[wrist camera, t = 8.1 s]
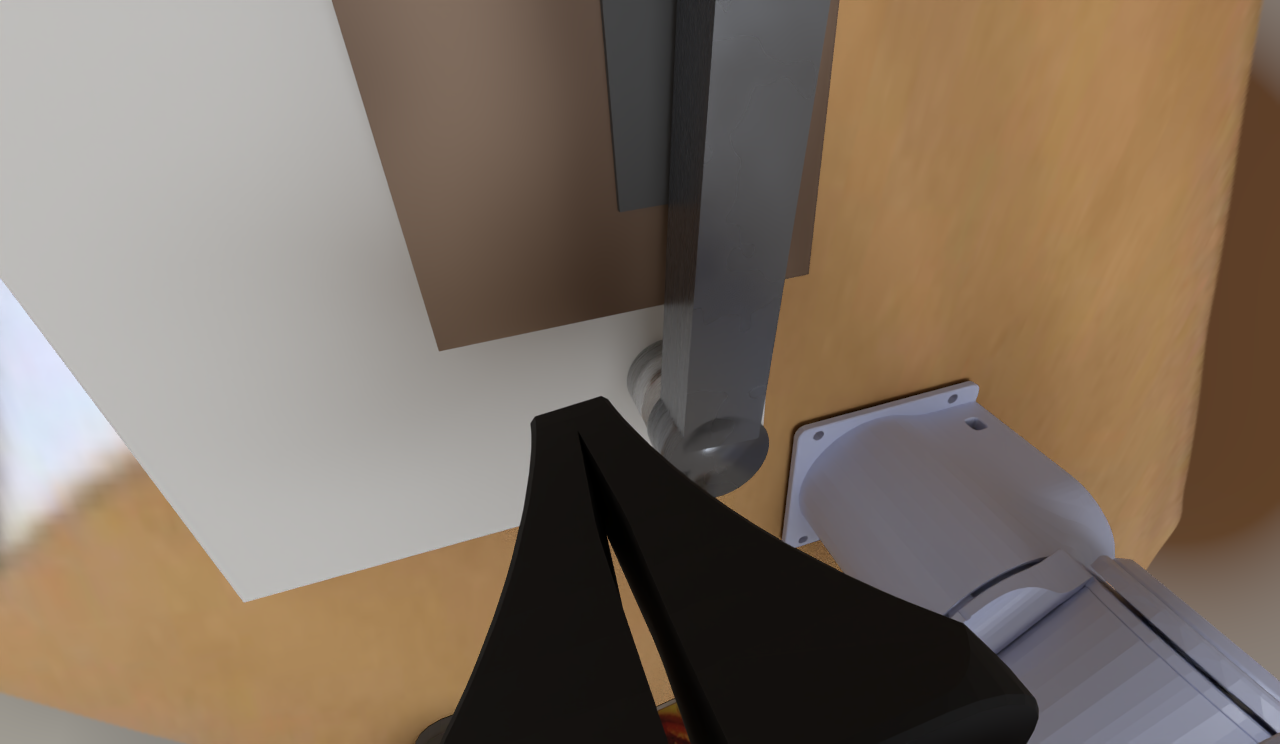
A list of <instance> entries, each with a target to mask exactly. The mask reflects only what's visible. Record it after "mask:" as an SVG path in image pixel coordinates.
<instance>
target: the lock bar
mask: <svg viewBox="0 0 1280 744" xmlns="http://www.w3.org/2000/svg"><path fill="white" fill-rule="evenodd" d="M830 1H831V0H677V15H676V39H675V62H674V86H673V109H672V133H671V156H670V180H669V203H668V227H667V250H666V274H665V297H664V321H663V344H662V368H661V391H660V399H659V400H658V401H657V403H656V404H655V405H654V407H653V409H652V411H651V413H650V415H649V418H648V423H647V433H648V437H649V440H650V442H651V444H652V446H653V448H654V449H655V450H657V451H658V452H659V453H660V454H661V455H662V456H663V457H665V458H666V459H667V460H668V461H669V462H670V463H671V464H672V465H674V466H675V467H676V468H677V469H678V470H680V471H681V472H682V473H683V474H685V475H686V476H687V477H688V478H690V479H691V480H692V481H693V482H695V483H696V484H697V485H699V486H700V487H701V488H702V489H704V490H705V491H706V492H708V493H709V494H710V495H712V496H713V497H718V496H722V495H724V494H727V493H729V492H731V491H733V490H735V489H737V488H739V487H740V486H742V485H743V484H744V483H746V482H747V481H748V480H749V479H750V478H751V477H752V476H753V475H754V474H755V473H756V472H757V471H758V470H759V468H760V467H761V465H762V464H763V462H764V460H765V458H766V455H767V452H768V448H769V438H768V434H767V431H766V429H765V428H764V426H763V425H762V424H761V420H762V414H763V408H764V402H765V396H766V390H767V384H768V378H769V372H770V366H771V360H772V353H773V347H774V341H775V335H776V329H777V323H778V317H779V311H780V305H781V299H782V293H783V287H784V281H785V275H786V268H787V262H788V256H789V250H790V244H791V238H792V232H793V226H794V220H795V214H796V208H797V202H798V196H799V190H800V183H801V177H802V171H803V165H804V159H805V153H806V147H807V141H808V135H809V129H810V123H811V117H812V111H813V105H814V98H815V92H816V86H817V80H818V74H819V68H820V62H821V56H822V50H823V44H824V38H825V32H826V26H827V19H828V13H829V7H830Z"/></svg>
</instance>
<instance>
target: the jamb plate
mask: <svg viewBox="0 0 1280 744" xmlns="http://www.w3.org/2000/svg"><path fill="white" fill-rule="evenodd" d="M0 278H1V279H2V281H3V282H4V283H5V285H6V286H7V287H8V289H9V290H10V291H11V293H12V294H13V295H14V297H15V298H16V299H17V301H18V302H19V303H20V305H21V306H22V307H23V309H24V310H25V311H26V313H27V314H28V315H29V317H30V318H31V319H32V321H33V322H34V323H35V325H36V326H37V327H38V329H39V330H40V331H41V333H42V334H43V335H44V337H45V338H46V339H47V341H48V342H49V343H50V345H51V346H52V347H53V349H54V350H55V351H56V353H57V354H58V355H59V357H60V358H61V359H62V361H63V362H64V363H65V365H66V366H67V367H68V369H69V370H70V371H71V373H72V374H73V375H74V377H75V378H76V379H77V381H78V382H79V383H80V385H81V386H82V387H83V389H84V390H85V391H86V393H87V394H88V395H89V397H90V398H91V399H92V401H93V402H94V403H95V405H96V406H97V407H98V409H99V410H100V411H101V413H102V414H103V415H104V417H105V418H106V419H107V421H108V422H109V423H110V425H111V426H112V427H113V429H114V430H115V431H116V433H117V434H118V435H119V437H120V438H121V439H122V441H123V442H124V443H125V445H126V446H127V447H128V449H129V450H130V451H131V453H132V454H133V455H134V457H135V458H136V459H137V461H138V462H139V463H140V465H141V466H142V467H143V469H144V470H145V471H146V473H147V474H148V475H149V477H150V478H151V479H152V481H153V482H154V483H155V485H156V486H157V487H158V489H159V490H160V491H161V493H162V494H163V495H164V497H165V498H166V499H167V501H168V502H169V503H170V505H171V506H172V507H173V509H174V510H175V511H176V513H177V514H178V515H179V517H180V518H181V519H182V521H183V522H184V523H185V525H186V526H187V527H188V529H189V530H190V531H191V533H192V534H193V535H194V537H195V538H196V539H197V541H198V542H199V543H200V545H201V546H202V547H203V549H204V550H205V551H206V553H207V554H208V555H209V557H210V558H211V559H212V561H213V562H214V563H215V565H216V566H217V567H218V569H219V570H220V571H221V573H222V574H223V575H224V577H225V578H226V579H227V581H228V582H229V583H230V585H231V586H232V587H233V589H234V590H235V591H236V593H237V594H238V595H239V597H240V598H241V599H242V601H243V602H247V601H251V600H255V599H258V598H262V597H265V596H269V595H273V594H276V593H280V592H283V591H287V590H291V589H294V588H298V587H301V586H305V585H309V584H312V583H316V582H319V581H323V580H327V579H330V578H334V577H337V576H341V575H345V574H348V573H352V572H355V571H359V570H363V569H366V568H370V567H373V566H377V565H381V564H384V563H388V562H391V561H395V560H399V559H402V558H406V557H409V556H413V555H417V554H420V553H424V552H428V551H431V550H435V549H438V548H442V547H446V546H449V545H453V544H456V543H460V542H464V541H467V540H471V539H474V538H478V537H482V536H485V535H489V534H492V533H496V532H500V531H503V530H507V529H510V528H514V527H518V526H520V522H521V518H522V513H523V508H524V501H525V495H526V489H527V483H528V476H529V467H530V457H531V426H530V423H531V421H532V420H533V418H534V417H535V416H538V415H541V414H544V413H547V412H551V411H554V410H557V409H560V408H564V407H567V406H570V405H573V404H577V403H580V402H583V401H586V400H590V399H593V398H596V397H599V396H603V397H605V398H607V399H609V401H610V402H611V404H612V405H613V406H614V407H615V409H616V410H617V411H618V412H619V413H620V414H621V416H622V417H623V418H624V419H625V420H626V421H627V422H628V423H629V424H630V425H631V426H632V427H633V428H634V429H635V430H636V431H637V432H638V433H639V434H640V435H641V436H642V437H643V438H644V439H645V440H646V441H647V442H648V443H649V444H650V445H651V446H652V444H651V442H650V440H649V437H648V433H647V427H646V425H645V423H644V421H643V419H642V417H641V415H640V413H639V411H638V409H637V407H636V405H635V403H634V401H633V399H632V397H631V396H630V394H629V391H628V388H627V374H628V371H629V368H630V366H631V364H632V362H633V360H634V359H635V358H636V357H637V355H638V354H639V353H640V352H641V351H643V350H644V349H645V348H646V347H648V346H649V345H651V344H653V343H655V342H657V341H660V340H663V321H664V305H659V306H654V307H649V308H644V309H640V310H635V311H630V312H625V313H621V314H616V315H611V316H606V317H601V318H597V319H592V320H587V321H582V322H578V323H573V324H568V325H563V326H558V327H554V328H549V329H544V330H539V331H535V332H530V333H525V334H520V335H515V336H511V337H506V338H501V339H496V340H492V341H487V342H482V343H477V344H472V345H468V346H463V347H458V348H453V349H449V350H444V351H439V350H438V347H437V344H436V340H435V337H434V334H433V330H432V327H431V324H430V321H429V317H428V314H427V311H426V308H425V304H424V301H423V298H422V294H421V291H420V288H419V285H418V281H417V278H416V275H415V272H414V268H413V265H412V262H411V258H410V255H409V252H408V249H407V245H406V242H405V239H404V236H403V232H402V229H401V226H400V222H399V219H398V216H397V213H396V209H395V206H394V203H393V200H392V196H391V193H390V190H389V187H388V183H387V180H386V177H385V173H384V170H383V167H382V164H381V160H380V157H379V154H378V151H377V147H376V144H375V141H374V137H373V134H372V131H371V128H370V124H369V121H368V118H367V115H366V111H365V108H364V105H363V101H362V98H361V95H360V92H359V88H358V85H357V82H356V79H355V75H354V72H353V69H352V65H351V62H350V59H349V56H348V52H347V49H346V46H345V43H344V39H343V36H342V33H341V29H340V26H339V23H338V20H337V16H336V13H335V10H334V7H333V3H332V0H0ZM765 397H766V396H765ZM764 410H765V402H764V408H763V414H762V420H761V424H762V425H763V423H764ZM652 447H653V446H652Z"/></svg>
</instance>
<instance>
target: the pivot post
mask: <svg viewBox="0 0 1280 744" xmlns="http://www.w3.org/2000/svg"><path fill="white" fill-rule="evenodd" d="M662 344H663V340H660V341H657V342H655V343H653V344H651V345H649V346H648V347H646V348H645V349H644V350H643V351H641V352H640V353H639V354H638V355H637V357H636V358H635V359H634V360H633V362H632V364H631V366H630V368H629V371H628V374H627V388H628V391H629V394H630V396H631V397H632V399H633V401H634V403H635V405H636V407H637V409H638V411H639V413H640V415H641V417H642V419H643V421H644V423H645V425H646V427H647V423H648V418H649V415H650V413H651V411H652V409H653V407H654V405H655V404H656V403H657V401H658V400H659V399H660V391H661V368H662Z"/></svg>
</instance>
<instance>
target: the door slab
mask: <svg viewBox="0 0 1280 744" xmlns="http://www.w3.org/2000/svg"><path fill="white" fill-rule="evenodd" d="M332 3H333V7H334V10H335V13H336V16H337V20H338V23H339V26H340V29H341V33H342V36H343V39H344V43H345V46H346V49H347V52H348V56H349V59H350V62H351V65H352V69H353V72H354V75H355V79H356V82H357V85H358V88H359V92H360V95H361V98H362V101H363V105H364V108H365V111H366V115H367V118H368V121H369V124H370V128H371V131H372V134H373V137H374V141H375V144H376V147H377V151H378V154H379V157H380V160H381V164H382V167H383V170H384V173H385V177H386V180H387V183H388V187H389V190H390V193H391V196H392V200H393V203H394V206H395V209H396V213H397V216H398V219H399V222H400V226H401V229H402V232H403V236H404V239H405V242H406V245H407V249H408V252H409V255H410V258H411V262H412V265H413V268H414V272H415V275H416V278H417V281H418V285H419V288H420V291H421V294H422V298H423V301H424V304H425V308H426V311H427V314H428V317H429V321H430V324H431V327H432V330H433V334H434V337H435V340H436V344H437V347H438V350H439V351H444V350H449V349H453V348H458V347H463V346H468V345H472V344H477V343H482V342H487V341H492V340H496V339H501V338H506V337H511V336H515V335H520V334H525V333H530V332H535V331H539V330H544V329H549V328H554V327H558V326H563V325H568V324H573V323H578V322H582V321H587V320H592V319H597V318H601V317H606V316H611V315H616V314H621V313H625V312H630V311H635V310H640V309H644V308H649V307H654V306H659V305H664V297H665V274H666V250H667V227H668V204H665V205H659V206H653V207H648V208H642V209H636V210H630V211H624V212H619V211H618V208H617V196H616V184H615V172H614V161H613V149H612V137H611V125H610V113H609V101H608V90H607V78H606V66H605V54H604V42H603V30H602V19H601V7H600V0H332ZM838 8H839V0H831V1H830V7H829V13H828V19H827V26H826V32H825V38H824V44H823V50H822V56H821V62H820V68H819V74H818V80H817V86H816V92H815V98H814V105H813V111H812V117H811V123H810V129H809V135H808V141H807V147H806V153H805V159H804V165H803V171H802V177H801V183H800V190H799V196H798V202H797V208H796V214H795V220H794V226H793V232H792V238H791V244H790V250H789V256H788V262H787V268H786V275H785V279H788V278H793V277H797V276H802V275H807V274H809V265H810V256H811V247H812V238H813V230H814V221H815V212H816V203H817V194H818V185H819V176H820V167H821V159H822V150H823V141H824V132H825V123H826V114H827V105H828V97H829V88H830V79H831V70H832V61H833V52H834V43H835V35H836V26H837V17H838Z"/></svg>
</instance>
